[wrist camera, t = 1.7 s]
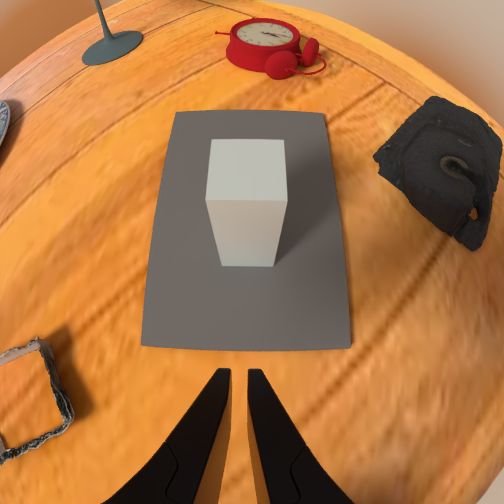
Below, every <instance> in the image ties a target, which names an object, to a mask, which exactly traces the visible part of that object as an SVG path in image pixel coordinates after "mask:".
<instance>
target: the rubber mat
mask: <svg viewBox="0 0 504 504" xmlns="http://www.w3.org/2000/svg"><path fill="white" fill-rule="evenodd" d="M212 139H270V140H284V150H285V165H286V181H287V199H288V201H287V206H286V211H285V215H284V220H283V225H282V229H281V234H280V238H279V243H278V247H277V252H276V256H275V261H274V265H273V267H263V266H222V264H221V260H220V256H219V253H218V249H217V245H216V241H215V237H214V233H213V229H212V225H211V221H210V217H209V213H208V209H207V205H206V200H205V199H206V189H207V178H208V169H209V159H210V150H211V142H212ZM141 345H142V346H151V347H164V348H178V349H195V350H219V351H307V350H331V349H348V348H351V337H350V317H349V301H348V287H347V275H346V264H345V254H344V245H343V236H342V227H341V219H340V211H339V204H338V197H337V190H336V183H335V177H334V171H333V165H332V159H331V153H330V147H329V142H328V137H327V131H326V126H325V121H324V116H323V113H313V112H299V111H279V110H206V111H186V112H176V114H175V118H174V122H173V126H172V131H171V135H170V139H169V144H168V149H167V153H166V158H165V163H164V168H163V173H162V178H161V183H160V189H159V195H158V200H157V206H156V212H155V218H154V225H153V232H152V238H151V246H150V253H149V261H148V269H147V278H146V288H145V298H144V309H143V321H142V336H141Z"/></svg>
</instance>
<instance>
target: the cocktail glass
mask: <svg viewBox="0 0 504 504" xmlns="http://www.w3.org/2000/svg"><path fill="white" fill-rule="evenodd" d="M95 3H96V6H97V10H98V13H99V17H100V20H101V23H102V27H103V32H104V38H103V39H101V40H99V41H98V42H96V43H95V44H93V45H92V46H91V47H89V48H88V49H87V50H86V52H85V53H84V54H83V56H82V61H83V63H84V64H86V65H100V64H104V63H107V62H110V61H113V60H115V59H118V58H120V57H122V56H124V55H126V54H127V53H129V52H131V51H132V50H133V49H135V48H136V47H137V46H138V45H139V44H140V42H141V41H142V34H141V33H140V32H137V31H123V32H119V33H115V34H111V32H110V30H109V28H108V26H107V23H106V21H105V18H104V15H103V12H102V8H101V5H100V2H99V0H95Z"/></svg>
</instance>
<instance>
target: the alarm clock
mask: <svg viewBox="0 0 504 504" xmlns="http://www.w3.org/2000/svg"><path fill="white" fill-rule="evenodd" d="M215 34H223V35H230V43H229V45H228V46H227V48H226V56H227V58H228V60H229V61H230V62H231V63H233V64H234V65H236V66H238V67H240V68H243V69H246V70H250V71H256V72H266V74H267V75H268V76H269V77H270V78H272V79H276V80H281V79H285V78H287V77H289V76H291V75H292V74H293V73H294V72H296V73H299V74H304V75H312V74H316V73H318V72H321V71H322V70H324V69H325V67H326V62H325V61H324V60H323V59H322V58H320V57H319V56H321V54H319V53H318V51H319V43H318V41H317V40H316V39H314V38H310V39H309V40H308V41H307V43H306V45H305V48H304V51H303V55H302V51H301V49H300V47H299V42H300V34H299V31H298V30H297V29H296V28H295V27H294V26H292V25H291V24H289V23H286V22H283V21H280V20H275V19H268V18H252V19H248V20H244V21H241V22H239V23H237V24H235V25H234V26H233V27H232V29H231V31H230V33H220V32H217V31H216V32H215ZM317 55H319V56H317ZM316 58H319V59H320V60H321V61H323V62H324V67H323V68H322V69H320V70H318V71H316V72H311V73H303V72H299V71H296V68H297V65H298V64H299V63H300V62H301V61H302V65H303V66H310V65H312V64H313V63H314V62H315V60H316ZM301 59H302V60H301Z"/></svg>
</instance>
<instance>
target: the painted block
mask: <svg viewBox="0 0 504 504" xmlns="http://www.w3.org/2000/svg"><path fill="white" fill-rule="evenodd" d="M205 200H206V205H207V209H208V213H209V217H210V221H211V225H212V229H213V233H214V237H215V241H216V245H217V249H218V253H219V256H220V260H221V264H222V266H263V267H273V265H274V261H275V256H276V252H277V247H278V243H279V238H280V234H281V229H282V225H283V220H284V215H285V211H286V206H287V201H288V199H287V181H286V165H285V150H284V140H270V139H212V142H211V150H210V159H209V169H208V178H207V189H206V199H205Z"/></svg>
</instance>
